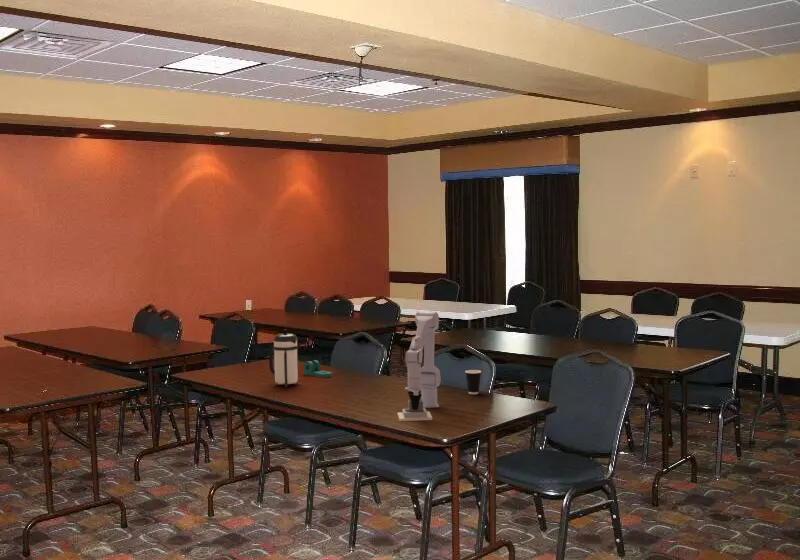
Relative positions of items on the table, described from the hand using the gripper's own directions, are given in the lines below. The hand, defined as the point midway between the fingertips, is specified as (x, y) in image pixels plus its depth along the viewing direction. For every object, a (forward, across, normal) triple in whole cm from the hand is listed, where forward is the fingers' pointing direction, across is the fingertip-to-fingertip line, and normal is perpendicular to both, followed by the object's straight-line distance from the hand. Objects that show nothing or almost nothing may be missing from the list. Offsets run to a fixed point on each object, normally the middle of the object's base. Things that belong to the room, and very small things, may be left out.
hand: (414, 408), depth 353 cm
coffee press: (+4, -83, -61) cm, 103 cm away
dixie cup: (+4, -46, +34) cm, 57 cm away
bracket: (+4, -108, -43) cm, 116 cm away
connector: (+2, 0, 0) cm, 2 cm away
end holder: (+4, 0, 0) cm, 4 cm away
